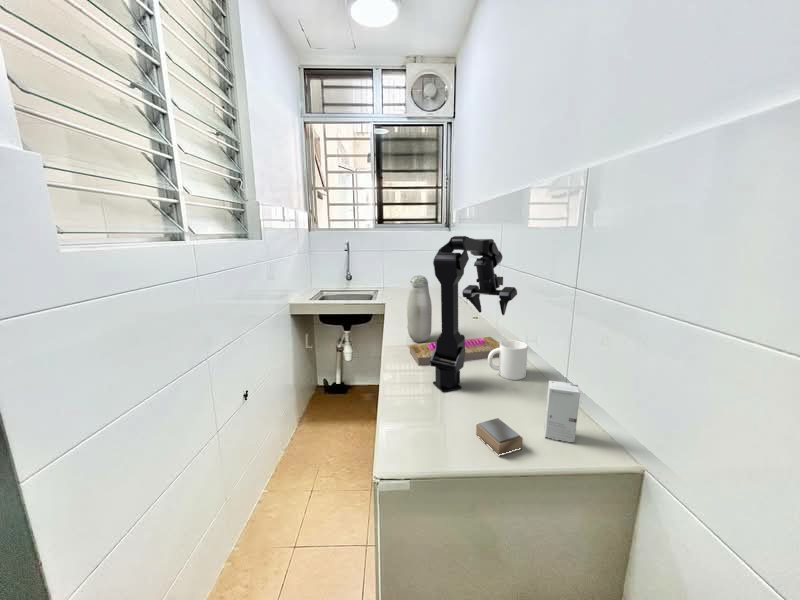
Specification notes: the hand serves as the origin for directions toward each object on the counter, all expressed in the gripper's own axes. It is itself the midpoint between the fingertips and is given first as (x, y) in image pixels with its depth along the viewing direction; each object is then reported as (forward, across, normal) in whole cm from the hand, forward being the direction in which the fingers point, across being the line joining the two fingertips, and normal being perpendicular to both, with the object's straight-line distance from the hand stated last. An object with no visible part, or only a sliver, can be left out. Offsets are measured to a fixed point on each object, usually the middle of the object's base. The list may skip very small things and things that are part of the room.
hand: (491, 313), depth 121 cm
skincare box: (+7, -35, +40) cm, 53 cm away
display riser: (+3, -25, +50) cm, 57 cm away
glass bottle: (+12, +30, +9) cm, 34 cm away
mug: (+12, -12, +18) cm, 25 cm away
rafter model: (+13, +10, +13) cm, 21 cm away
